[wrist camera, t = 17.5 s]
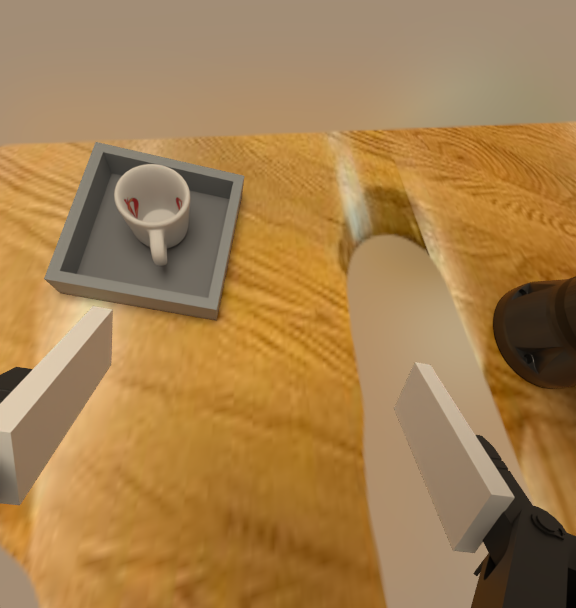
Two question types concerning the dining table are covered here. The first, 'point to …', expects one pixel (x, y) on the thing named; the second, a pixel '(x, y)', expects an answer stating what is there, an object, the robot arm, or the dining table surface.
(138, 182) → the cup
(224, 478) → the dining table surface
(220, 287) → the tray
